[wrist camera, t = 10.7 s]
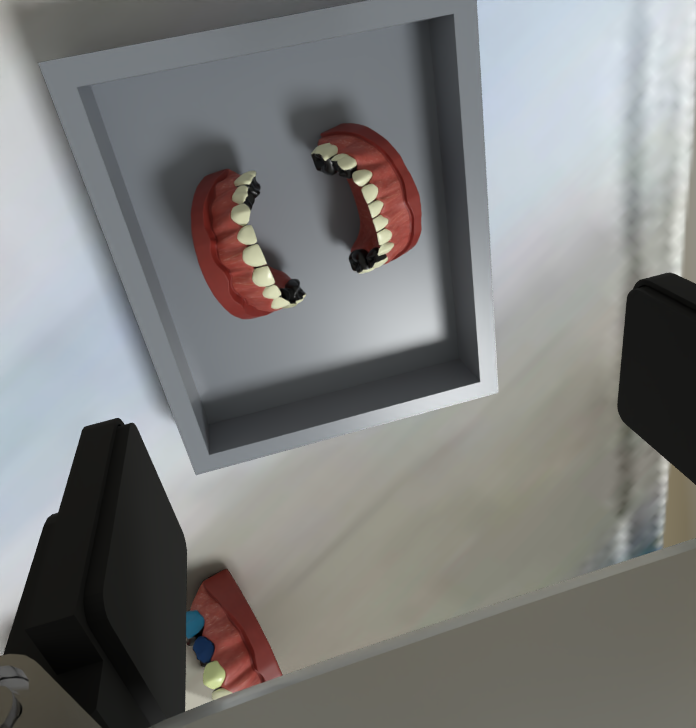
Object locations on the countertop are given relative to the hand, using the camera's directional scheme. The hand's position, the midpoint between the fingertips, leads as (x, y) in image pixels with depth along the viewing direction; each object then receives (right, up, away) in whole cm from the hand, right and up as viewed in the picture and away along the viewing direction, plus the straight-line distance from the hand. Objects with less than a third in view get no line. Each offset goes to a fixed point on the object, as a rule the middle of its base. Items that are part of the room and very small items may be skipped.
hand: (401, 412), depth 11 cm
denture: (-3, +7, +12) cm, 14 cm away
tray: (-3, +6, +13) cm, 15 cm away
